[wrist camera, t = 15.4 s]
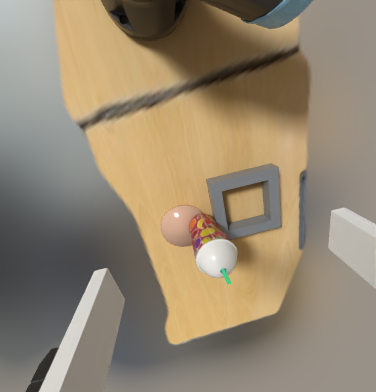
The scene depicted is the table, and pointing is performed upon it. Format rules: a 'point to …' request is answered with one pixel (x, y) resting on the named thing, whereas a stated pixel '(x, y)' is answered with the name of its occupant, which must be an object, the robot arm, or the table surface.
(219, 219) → the holder
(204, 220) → the smoothie
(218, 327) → the table surface
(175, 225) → the pink flat disc
